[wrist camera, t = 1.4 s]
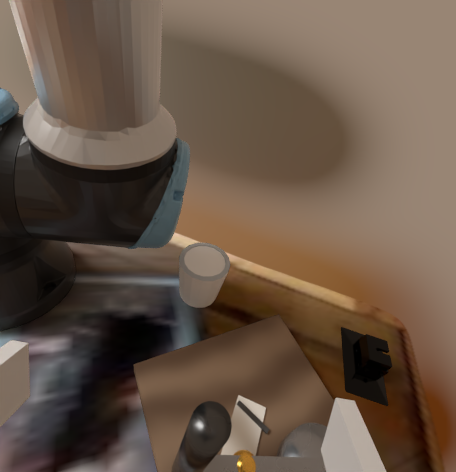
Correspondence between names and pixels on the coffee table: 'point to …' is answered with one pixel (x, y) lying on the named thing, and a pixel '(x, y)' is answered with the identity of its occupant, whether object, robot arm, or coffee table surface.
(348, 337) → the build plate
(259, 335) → the crank stand
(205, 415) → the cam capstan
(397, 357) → the coffee table surface
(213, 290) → the shot glass
